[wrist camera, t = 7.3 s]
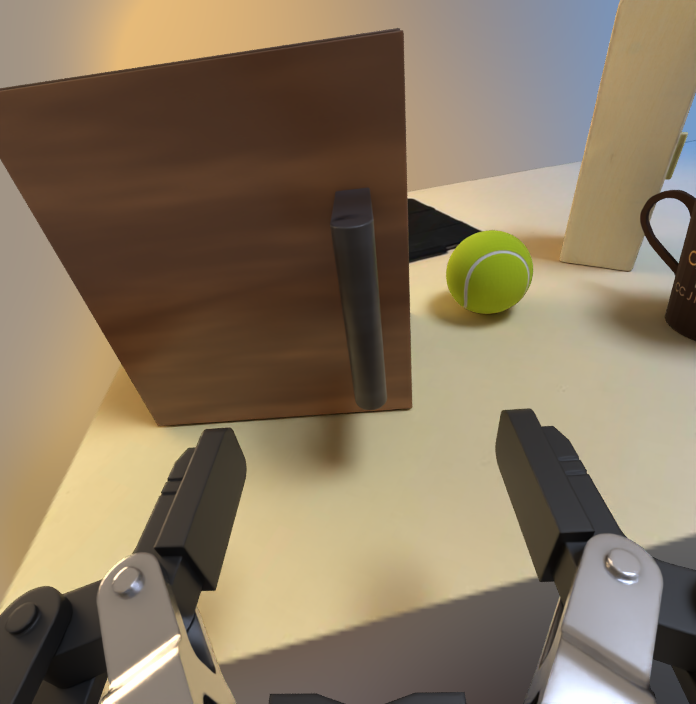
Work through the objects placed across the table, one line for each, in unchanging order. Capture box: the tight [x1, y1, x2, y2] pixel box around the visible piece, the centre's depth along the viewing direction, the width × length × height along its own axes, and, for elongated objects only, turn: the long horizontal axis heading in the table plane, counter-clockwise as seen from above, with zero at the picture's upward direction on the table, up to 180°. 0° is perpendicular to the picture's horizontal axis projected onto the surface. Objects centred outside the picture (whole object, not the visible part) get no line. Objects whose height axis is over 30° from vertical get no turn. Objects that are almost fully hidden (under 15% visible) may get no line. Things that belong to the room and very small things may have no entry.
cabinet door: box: [0, 30, 412, 426], centre depth 19 cm, size 6×18×20 cm, turn 89°
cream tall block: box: [560, 0, 696, 271], centre depth 35 cm, size 8×7×21 cm
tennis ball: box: [446, 230, 533, 314], centre depth 33 cm, size 7×7×7 cm
